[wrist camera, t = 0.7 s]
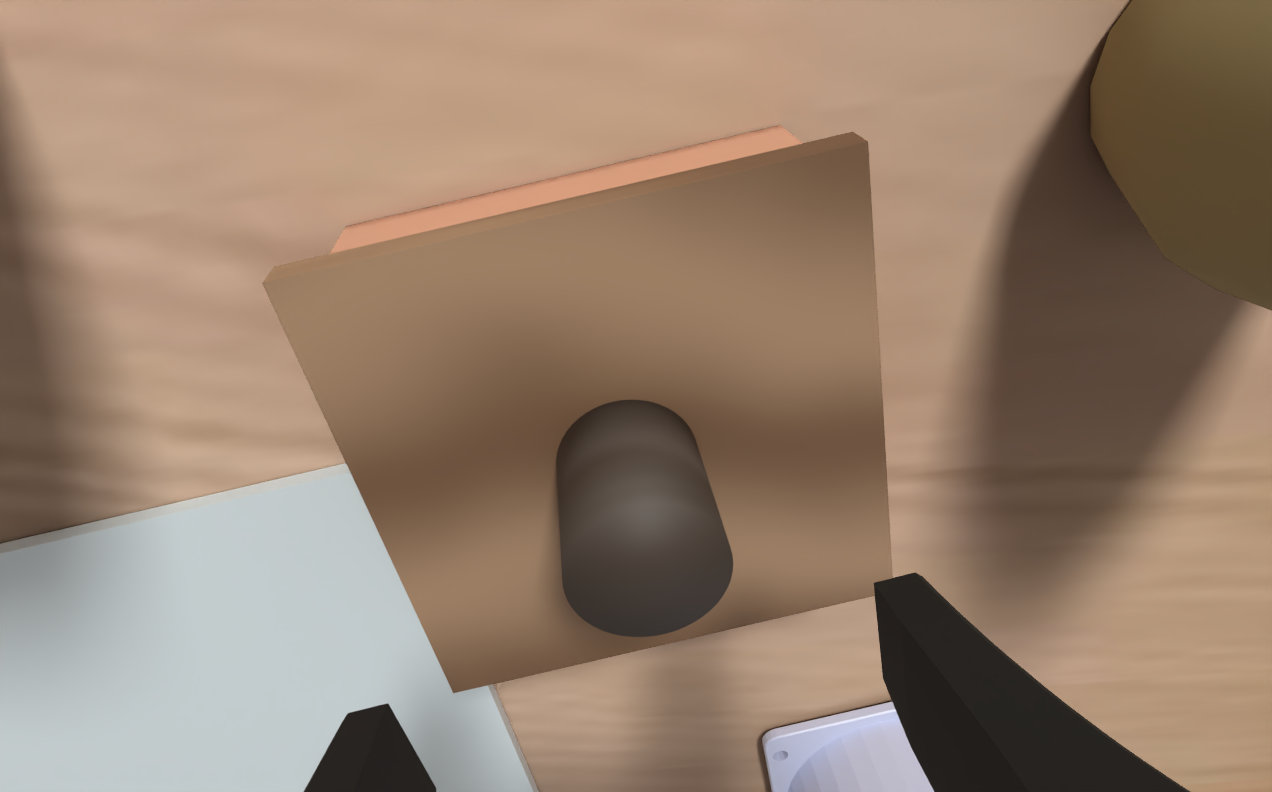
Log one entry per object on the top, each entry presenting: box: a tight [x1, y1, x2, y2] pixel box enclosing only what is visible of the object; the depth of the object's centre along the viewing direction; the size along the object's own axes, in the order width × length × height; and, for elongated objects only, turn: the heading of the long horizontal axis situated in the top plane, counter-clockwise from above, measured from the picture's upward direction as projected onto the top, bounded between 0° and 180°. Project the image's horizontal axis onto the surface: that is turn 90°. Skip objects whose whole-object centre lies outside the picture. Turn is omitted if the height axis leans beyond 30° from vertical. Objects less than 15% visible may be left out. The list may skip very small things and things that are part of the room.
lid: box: [262, 132, 893, 693], centre depth 16 cm, size 11×11×4 cm
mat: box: [0, 463, 539, 792], centre depth 26 cm, size 16×16×1 cm
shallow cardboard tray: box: [330, 125, 803, 254], centre depth 20 cm, size 10×10×4 cm
